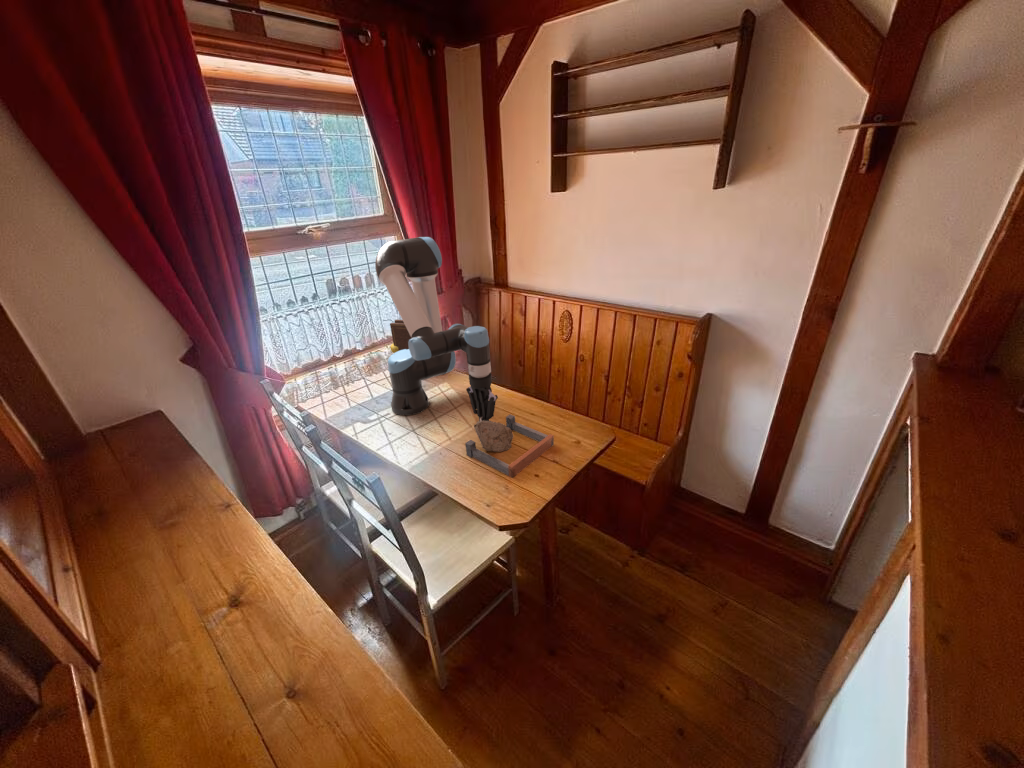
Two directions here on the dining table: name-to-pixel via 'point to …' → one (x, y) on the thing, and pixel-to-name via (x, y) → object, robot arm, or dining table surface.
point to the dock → (523, 460)
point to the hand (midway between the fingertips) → (485, 432)
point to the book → (399, 336)
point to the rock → (494, 435)
